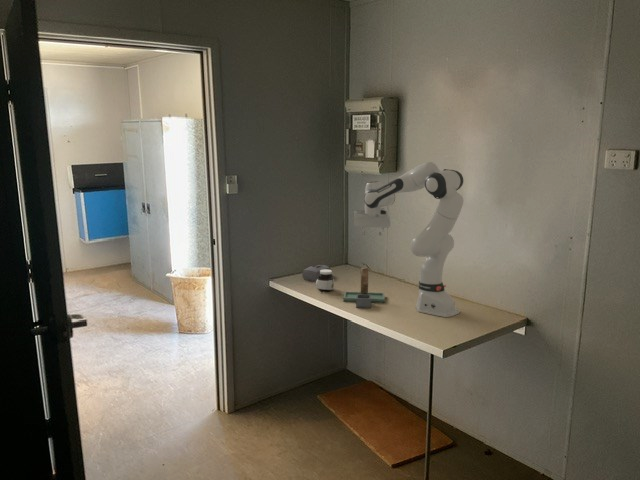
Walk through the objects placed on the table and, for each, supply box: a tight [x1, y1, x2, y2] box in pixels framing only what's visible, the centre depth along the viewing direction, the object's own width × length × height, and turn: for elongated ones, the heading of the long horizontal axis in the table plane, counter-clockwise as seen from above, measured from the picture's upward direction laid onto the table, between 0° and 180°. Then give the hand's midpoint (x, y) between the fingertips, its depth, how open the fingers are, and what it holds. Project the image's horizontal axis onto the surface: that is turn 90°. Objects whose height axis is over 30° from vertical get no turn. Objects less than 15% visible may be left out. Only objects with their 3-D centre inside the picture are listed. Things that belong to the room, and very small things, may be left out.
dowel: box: [360, 267, 369, 295], centre depth 277 cm, size 4×4×16 cm
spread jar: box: [315, 269, 335, 293], centre depth 296 cm, size 12×11×12 cm
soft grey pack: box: [301, 264, 332, 282], centre depth 322 cm, size 15×8×20 cm
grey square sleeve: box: [355, 294, 372, 309], centre depth 267 cm, size 8×8×5 cm
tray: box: [342, 291, 386, 304], centre depth 279 cm, size 22×12×2 cm, turn 84°
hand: (371, 235), depth 286 cm, fingers open, 8 cm apart
